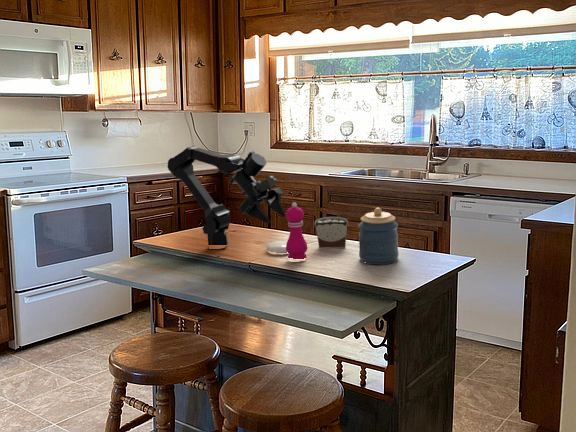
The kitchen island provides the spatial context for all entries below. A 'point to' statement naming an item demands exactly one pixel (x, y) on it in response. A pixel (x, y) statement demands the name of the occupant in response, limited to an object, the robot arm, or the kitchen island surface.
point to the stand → (277, 247)
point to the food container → (331, 232)
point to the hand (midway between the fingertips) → (276, 219)
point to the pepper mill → (295, 233)
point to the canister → (378, 238)
